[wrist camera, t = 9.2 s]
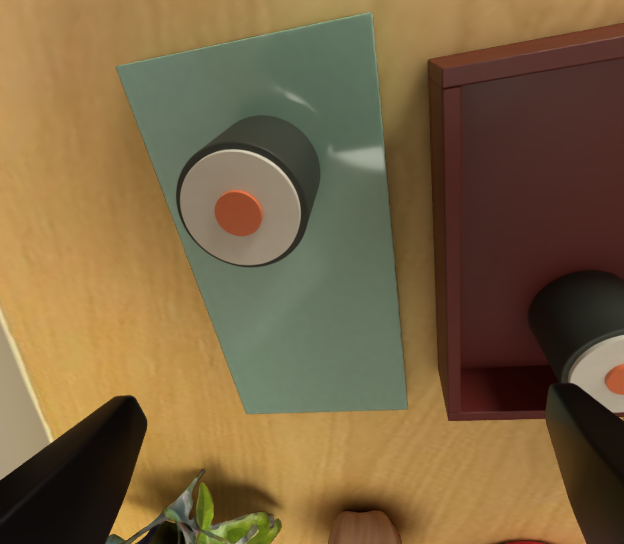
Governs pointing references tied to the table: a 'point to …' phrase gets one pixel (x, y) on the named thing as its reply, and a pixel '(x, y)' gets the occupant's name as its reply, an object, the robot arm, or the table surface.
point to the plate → (322, 223)
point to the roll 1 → (250, 192)
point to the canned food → (524, 542)
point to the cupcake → (363, 529)
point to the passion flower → (203, 524)
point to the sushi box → (520, 204)
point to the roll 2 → (584, 333)
